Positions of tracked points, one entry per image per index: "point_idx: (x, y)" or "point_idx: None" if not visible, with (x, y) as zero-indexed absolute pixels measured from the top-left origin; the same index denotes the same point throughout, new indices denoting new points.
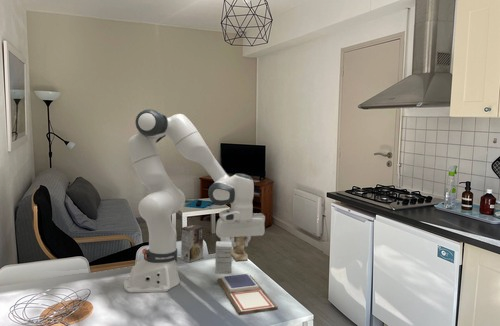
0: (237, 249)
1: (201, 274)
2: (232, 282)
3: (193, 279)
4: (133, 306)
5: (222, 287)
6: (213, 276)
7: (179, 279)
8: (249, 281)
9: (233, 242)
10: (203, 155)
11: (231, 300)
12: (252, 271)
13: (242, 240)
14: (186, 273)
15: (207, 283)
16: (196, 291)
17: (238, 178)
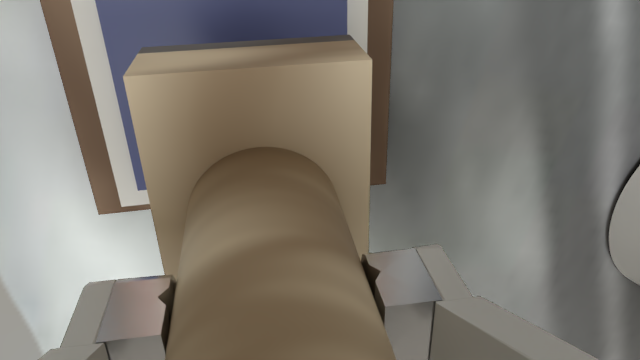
0: (331, 207)
1: None
2: (312, 29)
3: (524, 217)
4: None
5: (390, 27)
6: (384, 246)
7: (623, 207)
8: (136, 20)
9: (477, 313)
10: None
11: None
12: (70, 300)
13: (243, 345)
14: (531, 300)
15: (460, 145)
16: (581, 25)
17: None
